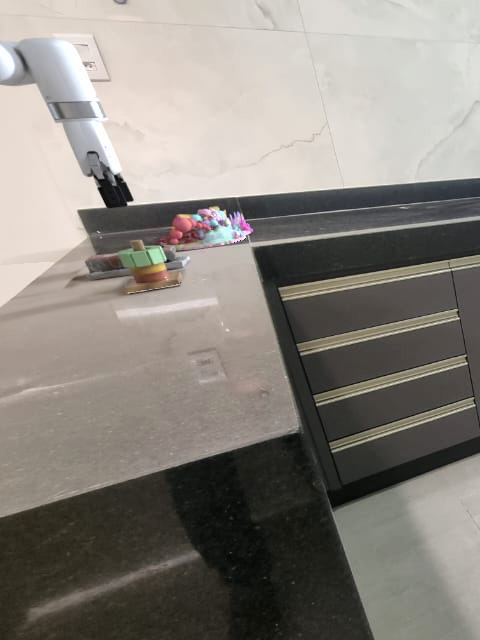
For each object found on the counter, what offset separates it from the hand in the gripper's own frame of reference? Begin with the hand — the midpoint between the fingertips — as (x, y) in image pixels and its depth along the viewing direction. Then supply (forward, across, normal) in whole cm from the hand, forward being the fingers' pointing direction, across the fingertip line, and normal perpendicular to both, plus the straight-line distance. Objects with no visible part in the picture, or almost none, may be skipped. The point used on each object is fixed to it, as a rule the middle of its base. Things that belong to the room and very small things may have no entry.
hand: (121, 204), depth 109 cm
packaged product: (+18, -21, -5) cm, 28 cm away
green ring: (+12, 0, 0) cm, 12 cm away
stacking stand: (+17, 0, 0) cm, 17 cm away
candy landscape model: (+18, -53, +8) cm, 57 cm away
